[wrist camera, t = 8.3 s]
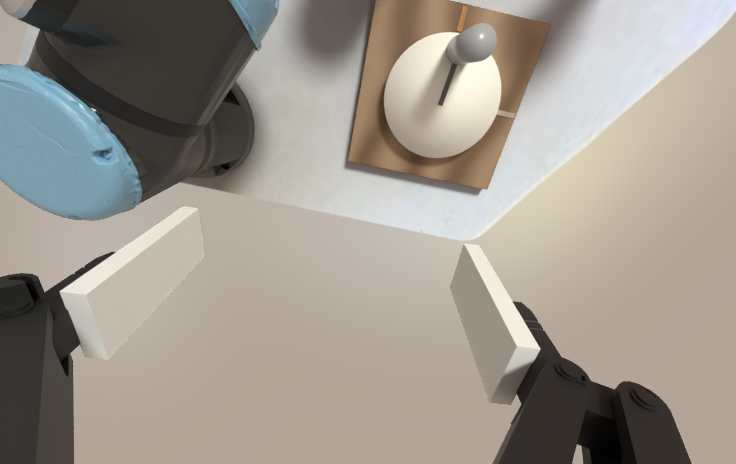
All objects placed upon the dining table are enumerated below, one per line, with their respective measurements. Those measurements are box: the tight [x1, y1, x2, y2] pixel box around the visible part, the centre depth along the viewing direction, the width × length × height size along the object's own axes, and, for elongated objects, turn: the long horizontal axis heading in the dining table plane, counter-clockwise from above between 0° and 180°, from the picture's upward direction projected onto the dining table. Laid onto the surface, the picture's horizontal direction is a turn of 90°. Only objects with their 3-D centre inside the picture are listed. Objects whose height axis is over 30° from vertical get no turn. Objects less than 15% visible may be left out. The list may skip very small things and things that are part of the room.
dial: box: [384, 23, 501, 158], centre depth 35 cm, size 14×14×10 cm
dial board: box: [348, 0, 551, 190], centre depth 40 cm, size 20×20×2 cm
